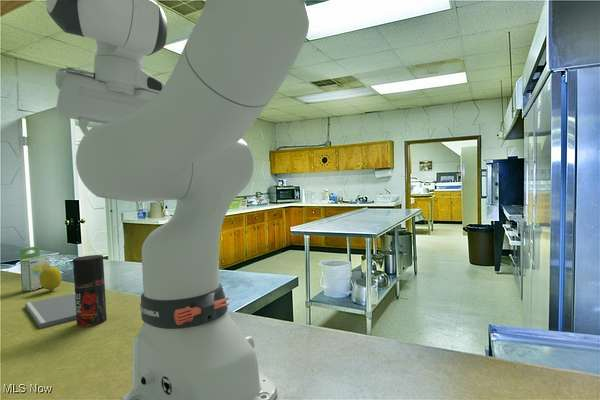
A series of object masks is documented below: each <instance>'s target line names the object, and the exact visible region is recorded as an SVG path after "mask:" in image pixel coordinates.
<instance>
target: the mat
mask: <svg viewBox="0 0 600 400" xmlns="http://www.w3.org/2000/svg"><path fill="white" fill-rule="evenodd" d="M24 307H25V309H26V310H27V313H28V314H29V315H30V316H31V317H33V318H32V319H33V320H34V322H35V324H36V325H37V326H38V328H39V329H44V328H47V327H52V326H55V325H58V324H63V323H68V322H70V321H75V320H77V318H76V301H75V292H72V293H69V294H65V295H59V296H55V297H50V298H44V299H39V300H37V301H32V302H30V301H28V302H26V303H24Z"/></svg>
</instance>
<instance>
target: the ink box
mask: <svg viewBox="0 0 600 400" xmlns="http://www.w3.org/2000/svg"><path fill="white" fill-rule="evenodd" d="M29 251H34V252H30V253H27V252H29ZM40 252H41V251H40V245H35V246H32V247H31V246H30V247H25V248H24V247H23V248H20V249H19V264H20V277H21V279H20V280H21V282H20V283H21V291H22V292H28V291H31V292H33V291H32V290H35V289H38V288H41V289H43V288H42V286H41V284H40V274H41V272H42V271H43V270H44V269H45V268H47V267H48V266H51V259H50V258H51V257H50V256H49V255H41V253H40ZM25 253H26V254H25ZM38 290H39V289H38ZM35 291H36V290H35Z"/></svg>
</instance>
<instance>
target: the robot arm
mask: <svg viewBox="0 0 600 400" xmlns="http://www.w3.org/2000/svg"><path fill="white" fill-rule="evenodd" d="M306 1H309V2H310V1H311V2H315V1H316V2H317V1H319V0H306ZM45 4H46V12H47V14H48V15H49V17H50V18H51V19H52V20H53V21H54V23H55V24H56V25H57V26H58V27H59V28H60V29H61V30H62V31H63V32H64V33H65V34H70V35H75V36H79V37H83V38H85V37H86V38H90V39H92V40H95V44H96V53H95V54H94V59H93V62H94V63H93V72H91V71H87V70H81V69H76V68H74V67H70V66H69V67H68V66H67V67H66V68H61V69H58V70H57V72H56V73H55V84H56V87H57V88H58V89H59V90H58V95H57V100H56V106H55V107H56V109H55V112H56V114H58V115H59V117H61V118H66V119H71V120H78V125H77V126H78V127H79V129H80V130H81V132H82V134H83V137H82V138H81V140H80V142H79V144H78V146H77V149H76V154H75V165H76V170H77V173H78V176H79V178H80V180H81V182H82V184H83V185H84V186H85V187H86V188H87V190H88V191H89V192H90V193H91V194H93V195H94V196H95V197H96V198H101V199H102V198H103V199H109V200H116V201H122V202H123V201H124V202H132V203H133V202H134V203H137V202H155V201H156V202H157V201H172V200H173V201H175V200H176V206H175V210H174V212H173V215H172V216H171V217H170V219H169V220H168V221H167V222H164V224H162V225H160V226H159V227H157V228H155V229H154V230H153V231H151V232H150V233H149V234H148V235H147V237H146V238H145V239H144V242H143V244H142V246H141V267H142V270H141V271H142V286H143V292H142V294H141V295H140V303H139V308H140V309H139V310H140V313H141V315H140V316H141V321H143V322H142V323H143V324H142V326H141V329H140V331H139V332H138V334H137V336H136V337H135V338H134V340H133V342H132V367H131V368H132V369H131V370H132V371H131V372H132V374H131V375H132V377H131V378H132V382H131V383H132V384H131V385H132V386H131V388H130V390H128V391H127V392H126V393H125V394H124V395H123V396H122V398H121V399H122V400H275V399H276V397H277V395H278V389H277V385H276V384H275V383H274V382H273V381H272V380H271V379H269V378H268V377H267V376H266V375H265V374H264V373H263V372H262V371H261V370H259V364H258V357H257V353H256V351H255V342H254V339H253V337H252V336H251V335H246V336H244V334H243V332H242V331H241V329H240V328H239V327H238V325H237V323H236V322H235V321H234V320H233V319H232V318H231V316H230V313H229V312H228V309H229V307H228V306H229V305H230V303H229V302H228V303H227V301H228V300H230V297H226V293H225V292H224V288H223V285H222V284H221V283H220V267H219V266H220V265H219V263H220V261H219V259H220V258H219V254H220V238H221V237H220V236H221V229H222V226H223V224H224V221H225V217H226V215H227V213H228V211H229V208H230V207H231V205H232V204H233V201H234V200H235V199H236V198H237V197H238V196H239V194H241V192H243V190H244V189H246V188H247V186H248V185H249V184H250V181H251V179H252V176H253V174H254V165H255V164H254V157H253V153H252V151H251V148H250V146H249V145H248V144H247V142H246V141H245V140H243V139H242V138H244V136H245V135H246V134H247V132H248V131H249V130H250V129H251V127H252V126H253V124H254V123H255V122H256V120H257V119H258V118H259V116H260V115H261V114H262V112H264V110H265V108H266V107H267V106H268V104H269V103H270V102H271V101H272V99H273V98H274V97H275V95H276V94H277V92H278V91H279V89H280V88H281V86H282V85H283V83H284V82H285V80H286V78H287V76H288V75H289V73H290V71H291V69H292V67H294V64H295V62H296V61H297V58H298V56H299V54H300V52H301V49H302V47H303V46H304V43H305V42H306V38H307V36H308V33H309V27H310V16H309V11H308V7H307V5H306V3H305V0H205V3H204V6H203V9H202V11H201V12H200V15H199V17H198V18H197V20H196V22H195V24H194V26H193V27H192V29H191V32H190V34H189V36H188V38H187V40H186V42H185V44H184V47H183V49H182V52H181V53H180V56H179V58H178V60H177V62H176V64H175V66H174V67H173V70H172V72H171V74H170V75H169V78H168V79H167V81H166V83H164V82H163V81H161V80H159V79H158V78H155V76H152V75H151V74H149V73H148V72H146V71H145V69H144V68H145V67H144V64H143V63H144V62H143V58H144V56H145V57H149V56H152V55H153V54H155V53H157V52H159V51H161V50H162V49H164V47H165V46H166V42H167V38H168V37H167V36H168V20H167V19H168V18H167V16H166V14H165V12H164V10H163V9H162V7H161V6H160V4H159V3H158V2H155V1H154V0H45ZM90 122H91V123H97V125H94V126H92V127H91V128H90V129H89V128H88V127H87V126H89V123H90ZM98 123H99V124H98Z"/></svg>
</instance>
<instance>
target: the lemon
mask: <svg viewBox="0 0 600 400" xmlns="http://www.w3.org/2000/svg"><path fill="white" fill-rule="evenodd" d="M62 278H63V276H62V272H61V270H60V269H59V268H57V267H56V266H52V265H50V266H48V267H47V268H45V269H44V270H43V271H42V272H41V274H40V284H41V286H42V287H43V288H42V289H45V290H48V291H50V290H53V291H54V290H55V289H57V288H58V287H59V286H60V285H61V283H62Z"/></svg>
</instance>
